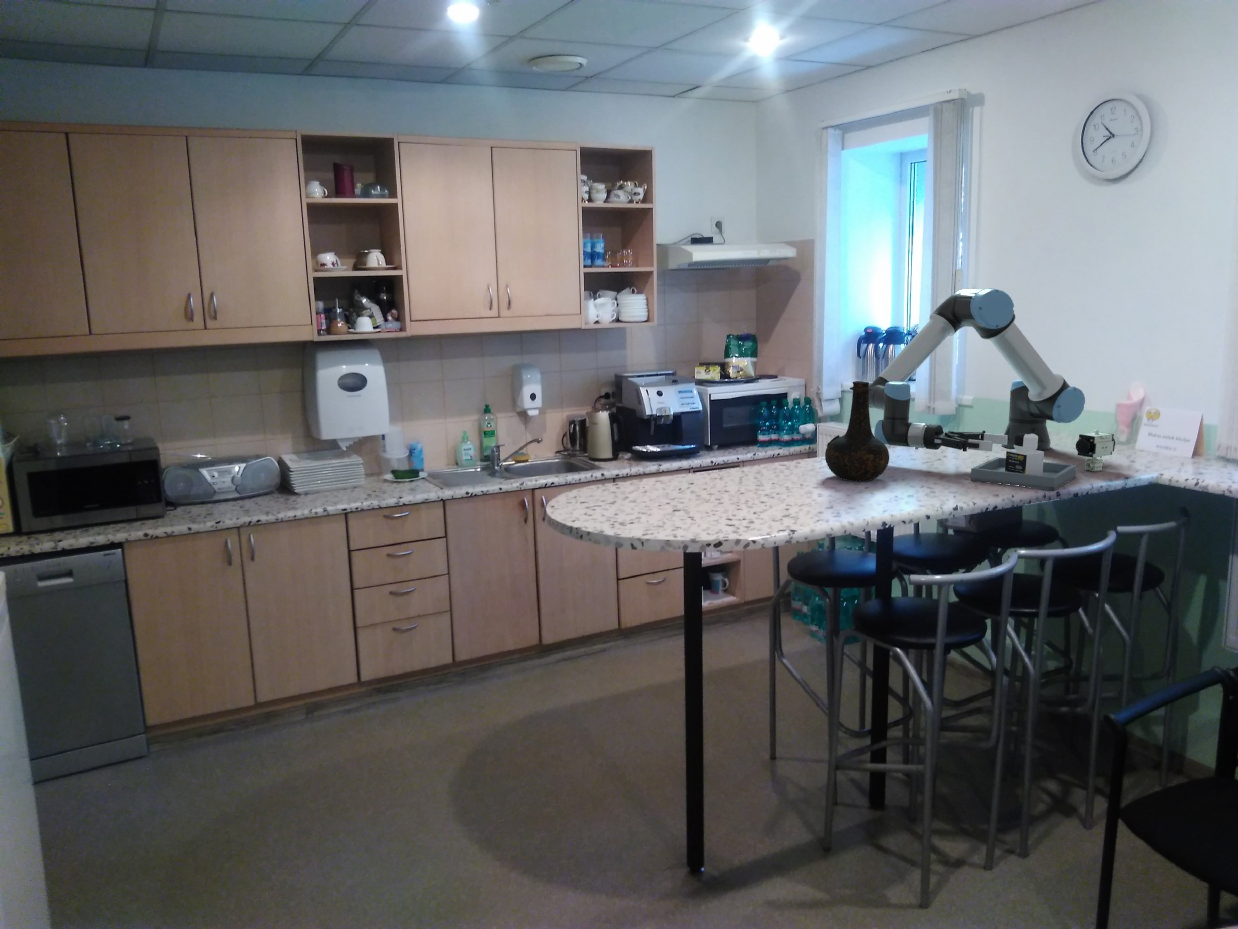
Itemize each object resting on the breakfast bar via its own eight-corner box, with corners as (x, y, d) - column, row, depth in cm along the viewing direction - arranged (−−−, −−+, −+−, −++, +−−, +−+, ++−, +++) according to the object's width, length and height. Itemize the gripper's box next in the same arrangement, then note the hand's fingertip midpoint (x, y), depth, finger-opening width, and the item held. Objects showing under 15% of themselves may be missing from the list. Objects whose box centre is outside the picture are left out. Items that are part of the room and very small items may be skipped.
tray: (996, 468, 274) (996, 456, 273) (1075, 477, 260) (1076, 465, 259) (970, 480, 257) (971, 468, 257) (1053, 491, 243) (1055, 478, 243)
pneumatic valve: (1072, 471, 268) (1076, 430, 266) (1099, 467, 274) (1102, 427, 271) (1089, 474, 264) (1093, 433, 261) (1116, 470, 269) (1120, 430, 266)
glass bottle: (835, 470, 274) (838, 376, 269) (895, 475, 265) (900, 379, 260) (815, 481, 259) (818, 382, 254) (878, 487, 250) (883, 385, 245)
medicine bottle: (1004, 474, 260) (1007, 432, 258) (1022, 472, 263) (1025, 430, 261) (1024, 479, 254) (1027, 436, 252) (1042, 476, 257) (1046, 434, 255)
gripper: (941, 442, 285) (1012, 449, 271) (909, 454, 266) (984, 462, 252) (942, 419, 283) (1013, 424, 270) (911, 429, 264) (986, 436, 251)
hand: (999, 443), depth 261 cm, fingers open, 13 cm apart
